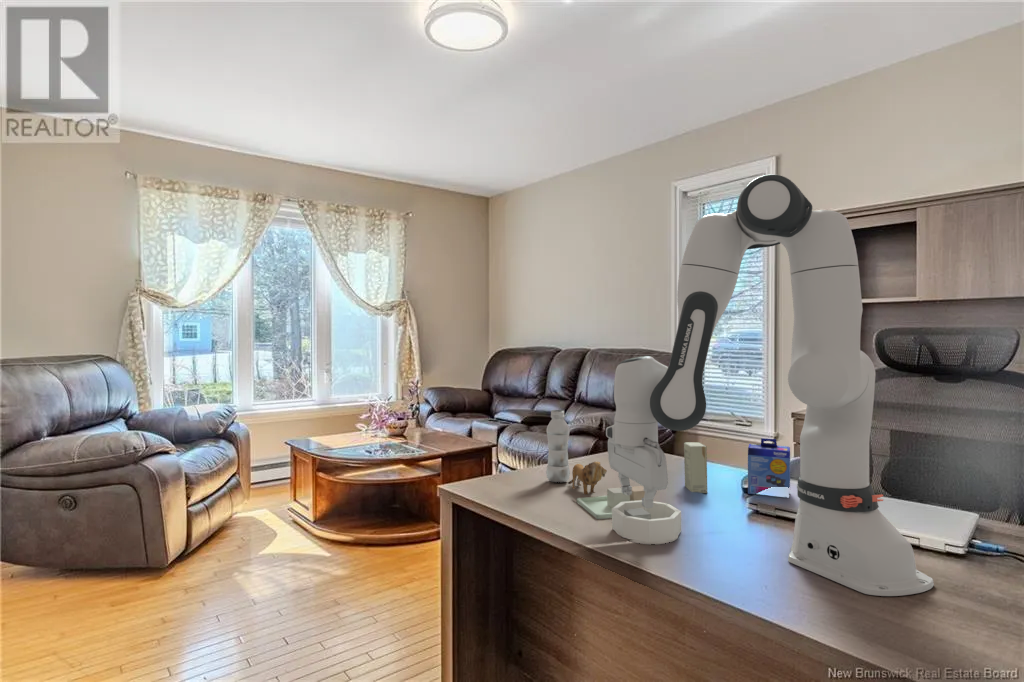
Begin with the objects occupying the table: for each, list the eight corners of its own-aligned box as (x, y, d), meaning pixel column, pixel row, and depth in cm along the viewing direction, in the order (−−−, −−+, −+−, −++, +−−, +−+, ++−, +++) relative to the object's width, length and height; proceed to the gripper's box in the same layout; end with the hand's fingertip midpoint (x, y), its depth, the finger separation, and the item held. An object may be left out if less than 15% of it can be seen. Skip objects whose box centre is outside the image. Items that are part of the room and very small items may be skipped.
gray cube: (650, 533, 116) (650, 513, 116) (632, 535, 115) (632, 515, 115) (641, 526, 120) (641, 508, 120) (624, 528, 119) (624, 509, 119)
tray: (663, 514, 129) (663, 508, 129) (597, 521, 125) (597, 515, 125) (637, 498, 142) (637, 492, 142) (576, 503, 138) (576, 498, 138)
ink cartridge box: (747, 494, 144) (747, 438, 144) (748, 489, 149) (748, 434, 149) (790, 499, 140) (790, 440, 140) (790, 493, 145) (790, 437, 145)
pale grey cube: (630, 508, 132) (629, 491, 132) (614, 510, 131) (614, 493, 131) (622, 503, 136) (622, 487, 136) (607, 505, 135) (607, 488, 135)
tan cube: (649, 507, 133) (649, 490, 133) (634, 508, 133) (633, 491, 132) (641, 502, 137) (641, 485, 137) (626, 503, 136) (626, 487, 136)
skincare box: (708, 493, 145) (707, 446, 145) (691, 493, 145) (690, 446, 145) (700, 486, 152) (699, 441, 152) (683, 487, 152) (683, 441, 152)
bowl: (691, 540, 113) (691, 516, 113) (631, 547, 110) (631, 523, 110) (659, 519, 126) (659, 498, 126) (604, 525, 123) (604, 503, 123)
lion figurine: (609, 497, 144) (609, 461, 143) (593, 500, 141) (592, 464, 141) (575, 484, 156) (575, 451, 156) (559, 486, 154) (559, 453, 154)
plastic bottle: (554, 477, 163) (553, 408, 163) (574, 481, 159) (573, 410, 159) (541, 482, 158) (541, 411, 158) (562, 486, 154) (562, 413, 154)
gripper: (675, 442, 108) (676, 514, 108) (628, 425, 128) (629, 486, 128) (645, 444, 107) (646, 517, 107) (602, 427, 127) (603, 488, 127)
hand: (636, 500), depth 118 cm, fingers open, 8 cm apart
